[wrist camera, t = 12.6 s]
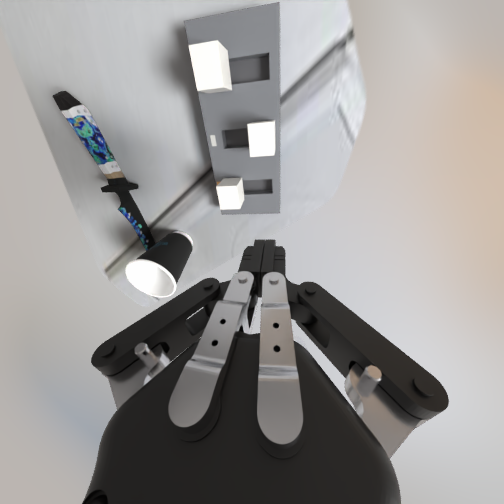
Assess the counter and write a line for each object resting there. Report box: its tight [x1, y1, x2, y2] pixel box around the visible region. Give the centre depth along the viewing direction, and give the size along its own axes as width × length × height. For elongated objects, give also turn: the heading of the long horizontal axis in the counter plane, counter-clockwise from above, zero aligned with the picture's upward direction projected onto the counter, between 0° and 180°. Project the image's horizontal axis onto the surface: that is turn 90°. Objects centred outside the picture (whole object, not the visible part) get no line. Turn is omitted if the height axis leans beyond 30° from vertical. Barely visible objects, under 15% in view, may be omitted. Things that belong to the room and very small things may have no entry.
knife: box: [53, 91, 156, 251], centre depth 33 cm, size 31×3×4 cm, turn 0°
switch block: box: [184, 2, 280, 215], centre depth 24 cm, size 20×9×3 cm, turn 5°
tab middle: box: [247, 120, 275, 157], centre depth 22 cm, size 3×3×5 cm
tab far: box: [216, 178, 244, 210], centre depth 26 cm, size 3×3×5 cm
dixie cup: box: [125, 231, 193, 297], centre depth 34 cm, size 8×8×11 cm
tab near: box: [188, 40, 232, 93], centre depth 19 cm, size 3×3×5 cm
